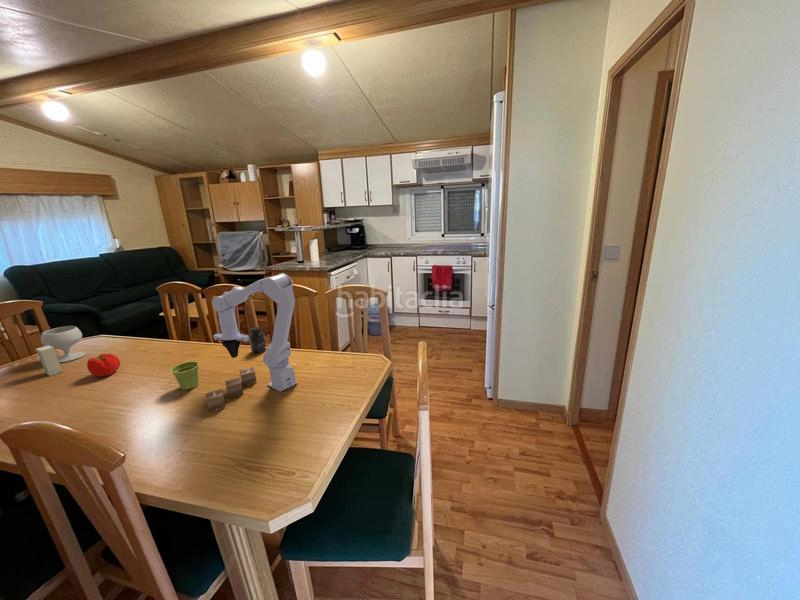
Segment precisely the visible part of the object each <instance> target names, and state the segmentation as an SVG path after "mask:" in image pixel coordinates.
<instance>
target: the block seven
mask: <svg viewBox="0 0 800 600" xmlns="http://www.w3.org/2000/svg"><path fill="white" fill-rule="evenodd" d="M239 374H240V375H239V376H240V380H241V384H242V387H246V386H245V385H247V384H250V385H252V384H251V383H254V382H257V378H256V371H255V369H254V367H253V366H250V367H247V368H243V369H239ZM254 384H255V383H254ZM247 386H248V385H247Z"/></svg>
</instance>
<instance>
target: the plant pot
mask: <svg viewBox="0 0 800 600" xmlns="http://www.w3.org/2000/svg"><path fill="white" fill-rule="evenodd" d="M199 366H200V362H198V361H197V360H196V361H195V360H194V361H192V360H191V361H185V362H181V363H180V364H176V365H175V366H173V367H172V368H171V369H170V373H172V375H173V376H174V377H175V379H176V381H177V384H178V386H179V389H180V390H182V391H188V390H189V389H194V388H196V387H198V386H199V384H200V383H199Z"/></svg>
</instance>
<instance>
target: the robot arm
mask: <svg viewBox="0 0 800 600" xmlns="http://www.w3.org/2000/svg"><path fill="white" fill-rule="evenodd" d="M293 287H294V282H293V281H292V279H291V277H290V276H289V275H288V274H285V273H281V272H280V273H278V274H277V275H272V276H268V277H264V278H262V279H259V280H256V281H254V282H253V283H251V284H249V285H247V286H245V287H242V286H233V287H231V290H230V291H224V292H223V293H222V295H219V296H214V298H213V299H212V300H211V306H212V307H213V309H214V311H216V313H217V316H218V317H217V318H218V321H219V326H220V330H221V331H220V332H221V333H215V334H214V335H212V336H213V340H214V341H218V340H223V342H221V345H222V346H223V347H224V348H225V349H226V350H227V352H228V354H229V355H230V357H231V358H232V359H235V358H237V357H238V356H239V348H240V345H241V343H242V342H245V343H247V342H248V341H250V339H249V335H248V334H243V333H240V331H239V329H238V323H237V319H236V306H237V305H240V304H242V303H244V302H246V301H247V300H248V298H249V296H251V295H254V294H255V293H257V292H260V293H262V294H263V293H264V294H265V295H266V296H267V298H269V299H271V300H272V301H274V302H275V303H277V305H278V306H277V311H276V316H275V321H274V327H273V333H272V336H271V337H272V338H271V342H270V344H269V345H268V347H266V351H265V352H264V354H263V356H262V361H263V364H265V366H266V367H267V368H268V370H269V376H270V382H269V383H267V386H268V385H269V384H270V385H269V386H270V388H271V387H272V388H271V389H273V388H274V390H275V389H276V390H275V391H277V390H278V391H277V392H279V391H280V392H279V393H282V392H281V391H283V390H285V389H287V388H288V389H290V388H292V387H294V386H295V385H294V384H296V382H297V381H296V374H295V370H294V368H293V367H292V366H291V365H290V364H289V363H290V362H289V360H290V359H289V357H290V356H291V353H292V352H291V351H292V350H291V343H290V342H289V341H288V340H289V333H290V330H291V325H292V318H293V314H294V310H295V305H296V299H295V298H296V297H295V294H294V290H293ZM293 385H294V386H293ZM296 385H297V384H296ZM269 386H268V387H269ZM291 386H292V387H291ZM289 387H290V388H289ZM288 389H287V390H288ZM285 391H286V390H285ZM283 392H284V391H283Z"/></svg>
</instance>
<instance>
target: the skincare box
mask: <svg viewBox="0 0 800 600" xmlns="http://www.w3.org/2000/svg"><path fill="white" fill-rule="evenodd" d="M35 351H36V354H37V355H38V358H39V360H40V362H41V365H42V368H43V370H44V373H45V374H46V375H47V376H53V375H54V376H55V375H57V374H60V373H63V369H62V366H61V363H59V361H58V358H57V357H58V355H57V353H56V350H55V349H54V348H53V347H52V346H50V345H48V346H41V347H37V348H35Z"/></svg>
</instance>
